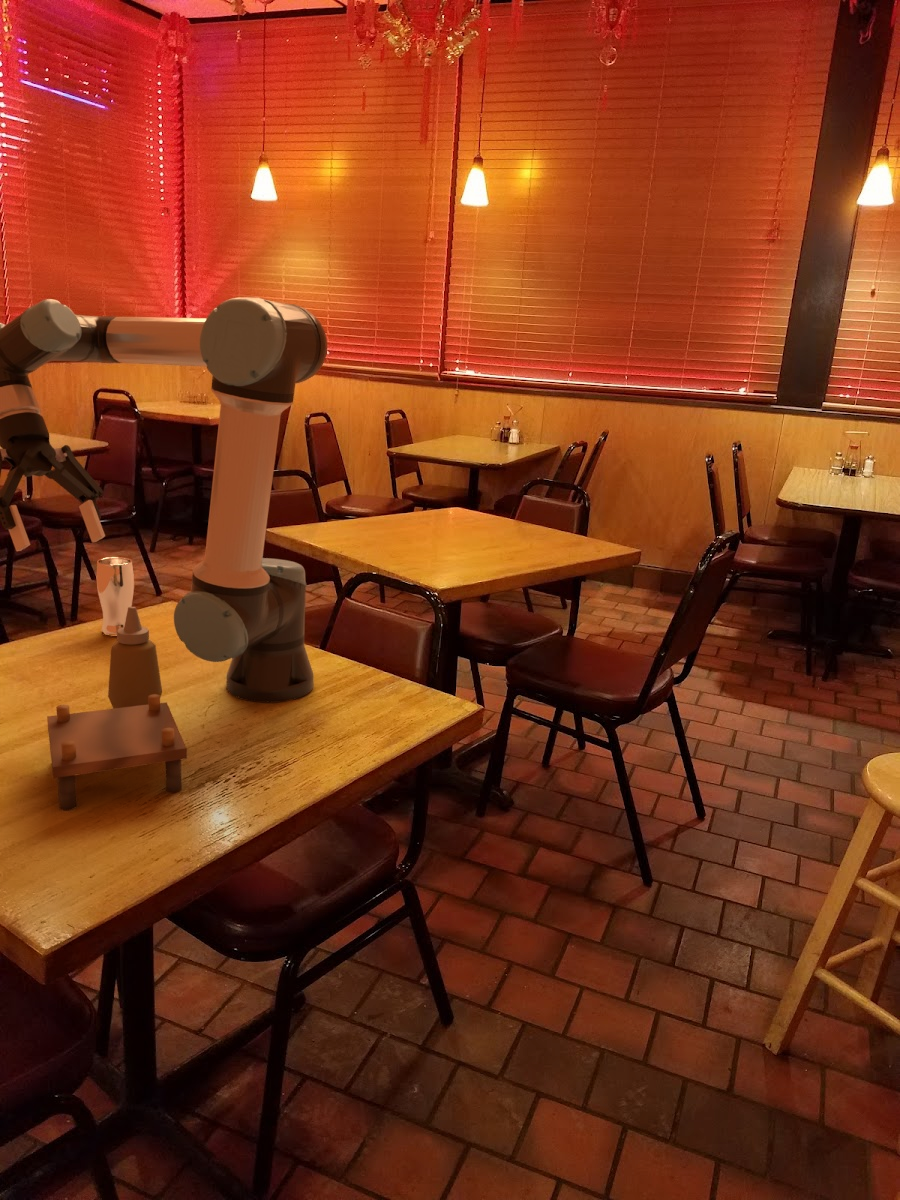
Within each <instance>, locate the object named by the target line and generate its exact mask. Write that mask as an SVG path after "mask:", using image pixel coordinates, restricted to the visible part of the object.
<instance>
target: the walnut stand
mask: <svg viewBox="0 0 900 1200" xmlns="http://www.w3.org/2000/svg"><path fill="white" fill-rule="evenodd" d="M148 703H149V705H140V706H131V707H123V708H114V709H113V708H108V709H100V710H91V711H82V712H73V713H71V712H70V705H68V704H60V705H57V706H56V715H48V716H46V720H47V722H46V723H47V733H48V741H49V751H50V760H51V769H52V778H53V779H56V778H57V788H58V789H57V790H58V791H57V792H58V804H59V805H58V806H59V809H60V810H61V811H71V810H74V809H75V808H76V807H77V806H78V805H77V801H78V800H77V790H76V789H77V788H76V787H77V786H76V776H77V775H86V774H92V773H99V772H104V771H112V770H119V769H123V768H124V769H126V768H131V767H132V768H133V767H139V766H145V765H152V764H159V763H165V765H164V766H165V791H166V792H167V793H170V794H173V793H174V794H177V793H179V792H181V790H182V789H183V787H182V786H183V785H182V784H183V783H182V782H183V781H182V780H183V779H182V760H186V759H188V757H187V756H188V754H187V746H186V744H185V741H184V739H183V736H182V735H181V732H180V729H179V728H178V725H177V723H176V721H175V717H174V716H173V714H172V711H171V708H170V707H169V705H168V702H167V701H166V702H161V697H160V695H157V694H153V695H149V696H148Z"/></svg>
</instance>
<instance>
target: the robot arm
mask: <svg viewBox="0 0 900 1200" xmlns="http://www.w3.org/2000/svg"><path fill="white" fill-rule="evenodd" d="M327 352H328V340H327V336H326V331H325V329H324V327H323V326H322V323H321V322H320V321H319V319H318V318H317V316H315V315H314V314H313V313H312V312H310V311H309V310H307V309H306V308H305V307H301V306H300V305H297V304H292V303H284V302H279V301H273V300H269V299H263V298H261V297H254V296H253V297H252V296H248V297H243V296H242V297H233V298H229V299H227V300H224V301H223V302H221V303H219V304H218V305H217V306H216V307H215V308H213V309H212V310H211V312H210V313H208V315H207V317H206V318H204V317H203V318H200V317H157V316H155V317H154V316H153V317H152V316H151V317H150V316H149V317H147V316H146V317H145V316H105V315H104V316H103V315H102V316H100V315H97V316H96V315H85V314H83V315H82V314H75V312H74V311H73V310H72V309H71V308H70V307H69V306H68V305H66V304H62V303H61V302H60V301H59V300H57V299H54V298H53V299H52V298H47V299H43V300H41V301H39V302H38V303H36V304H33V305H31V306H30V307H28V308H27V309H25V310H24V311H23V312H22V313H21V314H18V316H17V317H15V318H14V319H13V320H11V321H10V322H8V323H7V324H4V323H2V322H0V477H1V475H2V468H3V461H6V462H7V463H8V464H9V465H10V468H9V471H8V472H7V474H6V476H7V477H6V479H5V481H4V483H3V485H2V487H1V489H0V523H1V525H2V528H3V529H4V530H5V531H6V530H8V532H9V535H10V537H11V540H12V544H13V546H14V548H15V551H16V552H22V551H23V550H25V549H26V548H28V547H29V546H31V542H30V539H29V537H28V534H27V532H26V529H25V526H24V523H23V520H22V518H21V515H20V513H19V510H18V506H17V505H16V504H11V501H12V499H13V498H14V495H15V493H16V491H17V490H18V486H19V484H20V483H21V481H22V478H23V476H24V477H26V478H29V477H33V476H35V477H43V476H45V477H46V478H48V479H51V480H53V481H54V482H55V483H57V484H58V485H59V486H60V487H62V488H63V489H64V490H65V491H67V492H68V493H69V494H70V495H71V496H73V498H75V499H76V500H78V502H80V503H81V504H80V505H79V506H78V508H79V511H80V514H81V516H82V520H83V521H84V524H85V527H86V530H87V533H88V535H89V538H90V540H91V543H96V542H98V541H100V540H102V539H104V538H105V537H106V534H105V531H104V528H103V525H102V524H101V519H102V515H101V512H100V510H99V507H98V504H97V500H98V499H99V498H101V497H102V496H104V494H105V493H104V491H103V489H102V488H101V487H100V486H99V484H98V483H97V482H96V480H95V479H94V478H93V477H92V476H91V475H90V474H89V472H88V471H87V470H86V469H85V467H84V466H83V465H82V464H81V463H80V461H78V459H76V457H75V455H74V453H73V451H72V449H71V447H70V446H69V445H68V444H65V445H62V446H61V447H59V448H54V447H53V446H52V444H51V442H50V432H49V429H48V427H47V424H46V422H45V419H44V417H43V415H41V414H42V411H41V407H40V404H39V401H38V400H37V397H36V394H35V392H34V389H33V387H32V384H31V381H30V377H29V374H31V373H33V372H35V371H37V369H39V368H42V366H44V365H45V364H47V363H49V362H76V363H79V362H82V363H83V362H85V363H102V364H134V365H136V364H139V365H162V366H180V367H181V366H182V367H184V366H185V367H187V366H188V367H203V368H204V367H206V368H207V371H208V372H209V373H210V374H211V375H212V379H211V388H210V390H211V392H212V393H213V395H215V397H216V398H217V399H218V401H219V404H220V408H219V417H218V429H217V437H216V447H215V454H214V455H215V456H214V466H213V476H212V485H211V495H210V505H209V513H208V514H209V515H208V525H207V531H206V532H207V533H206V542H205V543H206V544H205V545H206V546H205V550H204V551H205V552H204V559H203V560H202V561H200V562H198V563H197V564H195V566H194V567H193V569H192V577H191V586H190V592H187V593H186V594H185V595H184V596H182V597H181V599H180V600H179V601H178V602H177V604H176V606H175V609H174V611H173V625H174V629H175V631H176V634H177V636H178V638H179V640H180V641H181V642H182V643H183V644H184V645H185V647H186V649H187V650H188V651H189V652H190V654H191V653H192V654H193V655H194V656H195V657H197V658H200V659H201V660H204V661H206V662H213V663H220V662H221V663H222V662H224V661H227V660H230V659H231V661H230V664H229V667H228V670H227V673H226V690H227V691H228V693H229V694H231V695H232V696H233V697H235V698H239V699H241V700H245V701H249V702H256V703H279V702H287V701H292V700H296V699H300V698H302V697H304V696H306V695H308V694H309V693H311V691H312V690H313V689H314V672H313V668H312V665H311V662H310V659H309V657H308V653H307V650H306V646H305V632H306V631H305V625H306V624H305V623H306V589H307V588H306V587H307V582H306V570H305V568H304V566H303V565H302V564H300V563H298V562H295V561H291V560H287V559H280V558H270V557H269V558H268V557H266V558H265V557H263V556H264V549H265V541H266V540H265V539H266V532H267V526H268V517H269V516H268V515H269V509H270V501H271V494H272V493H271V492H272V485H273V477H274V470H275V464H276V462H275V461H276V454H277V447H278V446H277V445H278V439H279V431H280V423H281V415H282V414H283V412H284V411H285V410H287V409H288V408H289V407H291V406H292V405H293V403H294V397H295V391H296V390H295V389H296V384H300V383H302V382H306V381H307V380H309V379H311V378H313V377H314V376H315V375H317V373H319V371H320V370H321V368H322V367H323V365H324V363H325V362H326V361H325V360H326V358H327V355H328V353H327ZM52 468H53V469H52Z"/></svg>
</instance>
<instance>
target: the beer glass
mask: <svg viewBox="0 0 900 1200" xmlns="http://www.w3.org/2000/svg"><path fill="white" fill-rule="evenodd" d="M96 587H97V594H98V598H99V602H100V605H101V606H100V607H101V609H102V619H103V620H102V627H101V632H102V631H103V632H104V633H106V634H109V635H117V631H118V629H120V628H123V627H124V626H125V621H126V616H127V611H128V607H133V599H134V598H133V597H134V590H135V575H134V568H133V559H131V558H129V557H121V556H110V557H103V558H99V559H98V560H97V561H96Z"/></svg>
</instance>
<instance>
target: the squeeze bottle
mask: <svg viewBox="0 0 900 1200" xmlns="http://www.w3.org/2000/svg"><path fill="white" fill-rule="evenodd" d="M116 639H117V641H116V642H114V643H113V644H112V645H111V647H110V662H109V674H108V675H109V677H108V690H107V691H108V693H107V697H108V699H109V702H110V704H111V707H112V709H114V708H123V707H131V706H140V705H149V703H148V696H149V695H153V694H157V695H160V698H161V697H162V694H163V687H162V681H161V674H160V666H159V661H158V654H157V646H156V643H155V642H153V641H151V640H150V629H148V627H146V626H142V624H141V620H140V617H139V613H138V610H137V607H136V606H131V607H128V611H127V616H126V621H125V626H124V627H123V628H120V629H118V631H117V637H116Z"/></svg>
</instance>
